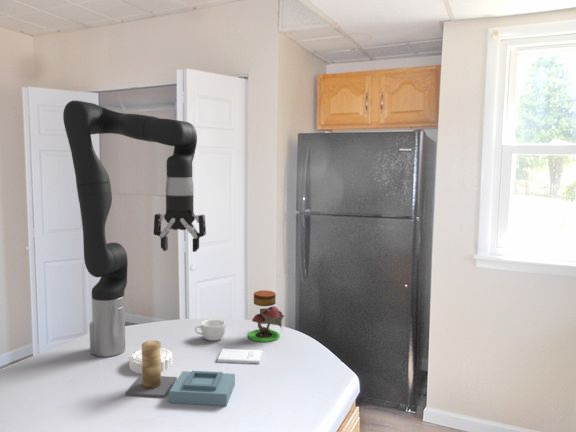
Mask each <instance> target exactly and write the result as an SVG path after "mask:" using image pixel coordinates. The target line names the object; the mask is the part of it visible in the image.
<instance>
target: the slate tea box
mask: <svg viewBox="0 0 576 432" xmlns="http://www.w3.org/2000/svg"><path fill="white" fill-rule="evenodd" d="M235 386H236V373H224V372H222V371H210V370H209V371H207V370H203V371H202V370H191V371H181V373H180V375H179V376H178V377H177V380H176V381H175V383H174V384H173V386H172V387H171V389H170V390H169V392H168V394H169V395H168V398H169V400H168V401H169V402H168V403H169V404H180V405H183V404H185V405H199V406H200V405H201V406H220V407H227V406H228V403H229V401H230V399H231V396H232V393H233V390H234V388H235Z"/></svg>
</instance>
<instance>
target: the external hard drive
mask: <svg viewBox="0 0 576 432" xmlns="http://www.w3.org/2000/svg"><path fill="white" fill-rule="evenodd" d="M263 353H264V351H263V350H258V349H257V350H255V349H239V348H238V349H237V348H235V349H234V348H222V349H221V351H220V353H219V356H218V357H217V363H226V362H235V363H234V364H247V363H256V364H255V365H260V363H261V359H262V356H263ZM236 362H237V363H236Z"/></svg>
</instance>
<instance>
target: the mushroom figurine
mask: <svg viewBox="0 0 576 432" xmlns="http://www.w3.org/2000/svg"><path fill="white" fill-rule="evenodd" d="M276 298H277V295H276V292H274V291H272V290H258V291H254V293H253V304H254V305H255V306H258V307H267V308H259V313H258V314H255V315H254V317H253V318H252V320H251V321H252V322H253V323H254V322H255V323H257V328H258V329H255V330H251V331H250V332H248V338H249V340H252V341H253V342H257V343H259V342H260V343H269V342H270V343H271V342H274V341H277V340H279V339H280V337H281V336H280V335H281V334H280V332H278V331H277V330H274V329H271V328H270V326H271V325H272V326H273V325H275V326H279V327H280V329H281V330H280V331H281V332H282V330H283V327H282V326H283V318H284V317H285V315H284V314H283V313H282V311H281V310H279V308H278V307H277V306H274V305H275V304H276ZM262 325H266V326H262Z"/></svg>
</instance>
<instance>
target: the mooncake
mask: <svg viewBox="0 0 576 432" xmlns="http://www.w3.org/2000/svg"><path fill="white" fill-rule="evenodd" d="M173 356H174V354H173V352H172V351H170V349H167V348H164V347H161V373H162V372H165V371H166V370H169V368H171V367H172V366H173V363H174V360H173V358H174V357H173ZM128 363H129V365H128V366H129V367H128V368H129V370H131V372H133V373H135V374H140V375H142V348H141V349H139V350H136V351H135V352H134V353H132V354H130V356H129V357H128Z"/></svg>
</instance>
